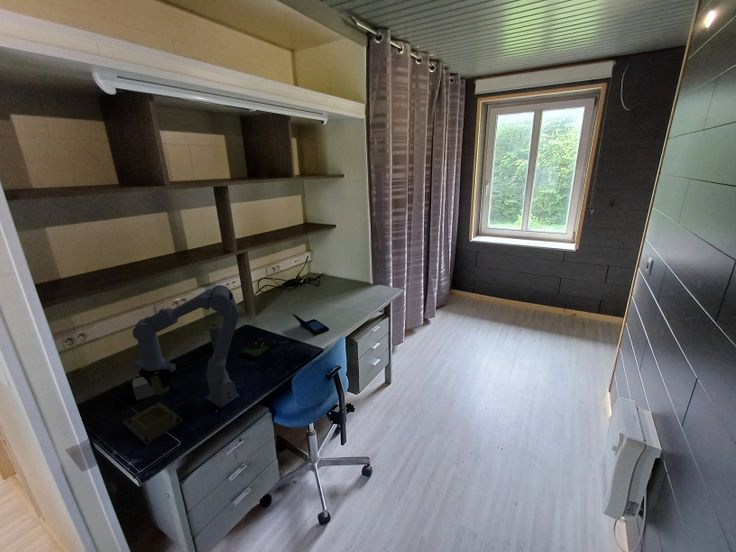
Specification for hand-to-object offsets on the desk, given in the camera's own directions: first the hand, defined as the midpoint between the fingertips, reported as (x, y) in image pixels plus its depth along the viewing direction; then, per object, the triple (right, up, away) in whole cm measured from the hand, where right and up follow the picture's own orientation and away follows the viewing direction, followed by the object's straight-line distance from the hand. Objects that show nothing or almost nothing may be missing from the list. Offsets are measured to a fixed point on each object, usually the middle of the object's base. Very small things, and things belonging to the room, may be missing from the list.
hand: (160, 385), depth 118 cm
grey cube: (-13, -7, +12) cm, 19 cm away
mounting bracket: (-1, -12, -3) cm, 12 cm away
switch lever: (0, -2, +1) cm, 2 cm away
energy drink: (+2, +4, +42) cm, 42 cm away
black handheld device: (+44, +10, +59) cm, 74 cm away
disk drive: (+23, +3, +41) cm, 47 cm away
